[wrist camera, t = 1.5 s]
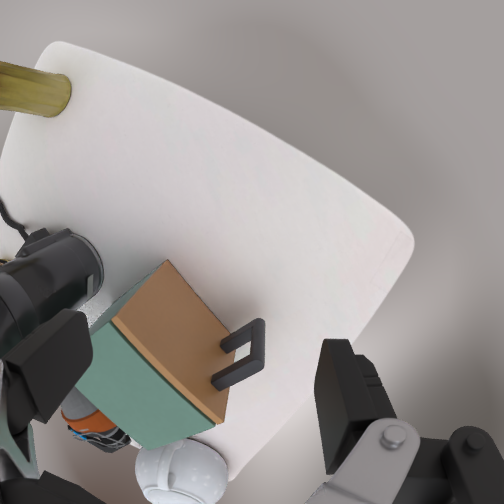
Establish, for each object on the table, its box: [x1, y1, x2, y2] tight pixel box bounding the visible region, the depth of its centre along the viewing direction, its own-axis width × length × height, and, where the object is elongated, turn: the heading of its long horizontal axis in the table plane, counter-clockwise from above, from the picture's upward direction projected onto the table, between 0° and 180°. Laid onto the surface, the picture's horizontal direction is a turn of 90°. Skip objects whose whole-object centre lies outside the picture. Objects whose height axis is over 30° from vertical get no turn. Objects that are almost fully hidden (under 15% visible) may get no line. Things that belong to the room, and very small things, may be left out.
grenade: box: [60, 386, 131, 453], centre depth 39 cm, size 11×10×15 cm
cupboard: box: [75, 264, 216, 450], centre depth 32 cm, size 10×14×15 cm
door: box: [111, 260, 265, 425], centre depth 30 cm, size 6×14×14 cm, turn 37°
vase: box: [0, 61, 71, 117], centre depth 24 cm, size 6×6×14 cm
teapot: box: [135, 438, 228, 504], centre depth 41 cm, size 19×18×14 cm
